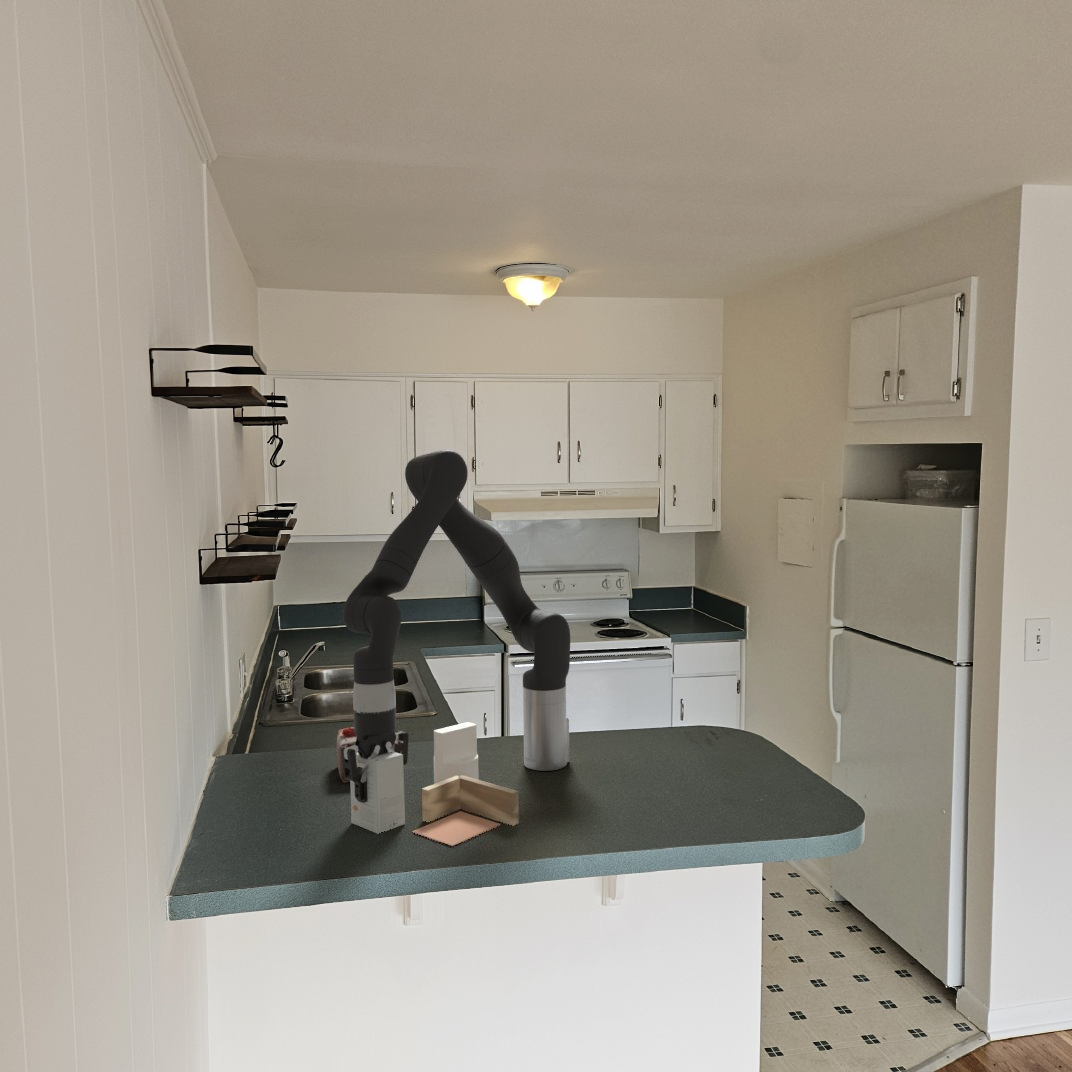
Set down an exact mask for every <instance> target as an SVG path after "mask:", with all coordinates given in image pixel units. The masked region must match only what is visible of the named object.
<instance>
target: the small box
mask: <svg viewBox="0 0 1072 1072" xmlns="http://www.w3.org/2000/svg"><path fill="white" fill-rule="evenodd" d="M357 755H358V752H357ZM357 758H359V762H360V763H363V764H366V763H369V769H368V770H367V779H366V781H365V782H367V802H365V803H362V802H359V801H357V799H356V798H355V784H354V782H353V781H350V783H349V784H350V785H349V786H350V812H351V814H350V816H351V817H350V818H351V821H350V822H351V824H352V825H355V826H358V827H361V828H363V829H366V830H367V831H370V832H372V833H375V834H378V835H379V833H380V834H382V833H381V832H383V833H385V832H387V831H390V829H391V830H393V829H395V828H398V827H401V826H403V825H405V824H406V809H405V808H406V807H405V806H406V804H405V803H406V802H405V778H404V777H405V774H404V772H405V771H404V765H403V754H400V753H396V752H393V753H389V754H388V753H385V754H381V755H378V756H376V758H374V759H373V758H372V759H371V760H368V759H365V758H362V757H361V756H360V757H357ZM357 758H356V759H357ZM362 770H363V768H361V773H362ZM360 775H361V774H360ZM384 831H385V832H384Z"/></svg>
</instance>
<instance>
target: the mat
mask: <svg viewBox="0 0 1072 1072" xmlns="http://www.w3.org/2000/svg"><path fill="white" fill-rule="evenodd" d="M499 825H500V826H501V823H500V822H499V823H498V822H497V821H496V822H495V821H494V820H493V821H492V820H490V819H487V818H484V817H480V816H478V815H475V814H472V813H471V814H470V813H469V812H465V811H462V810H459V811H456V812H454V813H452V814H449V815H448V816H446V817H445V816H444V817H443V818H441V819H438V820H435V821H432V822H430V823H429V824H427V825H425V826H424V825H423V826H422V827H420V828H417V829H415V830H412V832H413V833H412V832H411V833H412V834H414V833H415V835H417V834H418V835H417V836H419V835H421V836H420V837H422V836H424V837H423V838H425V837H427V838H426V839H428V838H429V840H431V839H432V840H431V841H433V840H435V841H434V842H436V841H438V842H437V843H439V842H442V843H445V844H448V845H451V846H454V845H456V844H459V843H461V842H463V843H465V842H467V841H469V840H468V839H470V840H471V838H472V837H474V838H475V836H476V837H479V836H480V835H479V834H481V835H483V834H484V832H485V833H487V832H490V831H491V829H492V830H494V829H496V828H498V827H500V826H499ZM497 826H498V827H497ZM493 828H494V829H493ZM486 831H487V832H486ZM482 833H483V834H482ZM472 839H473V838H472ZM466 840H467V841H466ZM464 841H465V842H464ZM442 843H441V844H442ZM445 844H444V845H445ZM461 844H462V843H461ZM459 845H460V844H459ZM454 847H455V846H454Z"/></svg>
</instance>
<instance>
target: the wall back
mask: <svg viewBox="0 0 1072 1072" xmlns="http://www.w3.org/2000/svg"><path fill="white" fill-rule="evenodd" d="M458 778H460V810H461V809H462V810H461V811H464V810H465V811H464V812H467V811H469V812H468V813H471V812H472V813H471V814H474V813H475V814H474V815H477V814H478V815H477V816H480V815H481V817H482V818H486V817H487V818H486V819H489V818H491V819H490V820H493V821H496V822H499V821H500V822H499V823H502V822H503V824H505V823H506V824H505V825H508V824H509V825H510V826H511V825H512V827H514V826H516V824H517V825H518V824H519V817H520V816H519V815H520V814H519V791H518V790H516V789H512V788H508V787H507V786H506V787H505V786H502V785H498V784H495V783H491V782H487V781H484V780H481V779H479V780H478V779H474V778H471V777H467V776H463V775H462V776H459V777H458Z"/></svg>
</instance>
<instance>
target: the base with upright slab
mask: <svg viewBox="0 0 1072 1072" xmlns="http://www.w3.org/2000/svg"><path fill="white" fill-rule="evenodd" d="M477 726H478V725H477V724H476V723H474V722H470V721H466V722H462V723H458V724H455V725H450V726H446V727H442V728H438V729H434V730H433V751H434V753H433V754H434V755H433V784H435V783H438V782H441V781H443V780H446V779H449V778H451V777H454V776H462V775H463V776H467V777H471V778H474V779H478V780H480V778H479V776H480V775H479V754H478V744H477V743H478V740H477V738H478V737H477V735H478V734H477V730H478V729H477Z"/></svg>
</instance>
